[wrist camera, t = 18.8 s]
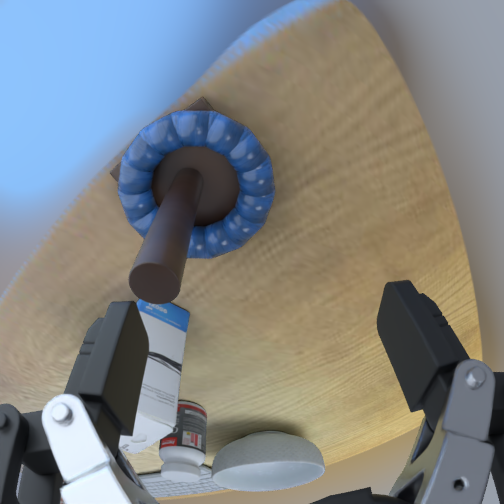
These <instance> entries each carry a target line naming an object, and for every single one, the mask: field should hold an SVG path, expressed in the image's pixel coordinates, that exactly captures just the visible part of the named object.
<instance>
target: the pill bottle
mask: <svg viewBox="0 0 504 504" xmlns="http://www.w3.org/2000/svg"><path fill="white" fill-rule="evenodd" d="M206 425H207V413H206V411H205V410H204V408H202V407H201V406H199V405H197V404H195V403H191V402H186V401H178V407H177V417H176V425H175V426H174V427H173V432H171V433H170V434H168V435H167V436H165V437H164V438H162V439H160V446H159V456H160V458H161V459H162V460H163V461H164V464H163V465H162V466H161V476H162V477H164V478H166V479H168V480H172V481H177V482H195V481H198V480H200V475H201V471H200V469H199V466H200V465H201V464H203V462H204V461H205V455H206Z"/></svg>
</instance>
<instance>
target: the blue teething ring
mask: <svg viewBox="0 0 504 504" xmlns="http://www.w3.org/2000/svg"><path fill="white" fill-rule="evenodd" d="M182 147H207V148H209V149H211V150H213V151H215V152H217V153H219V154H221V155H223V156H225V158H226V159H227V160H228V161H229V163H230V164H231V165H232V167H233V168H234V169H235V170H236V172H237V177H238V182H239V187H240V192H239V195H238V198H237V202H236V205H235V207H234V208H233V209H232V210H231V211H230V212H229V213H228V215H227V216H226V217H225V218H224V219H223V220H220V221H218V222H215V223H213V224H210V225H208V226H193V231H192V235H191V240H190V244H189V249H188V254H187V258H203V259H210V258H215V257H217V256H220V255H222V254H225V253H228V252H230V251H233V250H236V249H238V248H240V247H242V246H243V245H244V244H245V243H246V242H247V241H248V240H249V239H250V238H251V237H252V236H253V235H254V234H255V233H256V232H257V231H258V230H259V229H260V228H261V227H262V226H263V225H264V224H265V222H266V219H267V216H268V213H269V211H270V208H271V205H272V202H273V199H274V196H275V184H274V177H273V170H272V164H271V159H270V156H269V155H268V153H267V152H266V150H265V149H264V148H263V146H262V145H261V144H260V142H259V141H258V140H257V138H256V137H255V135H254V134H253V133H252V131H251V130H250V129H249V128H248V127H246V126H244V125H242V124H240V123H238V122H237V121H235V120H233V119H231V118H229V117H227V116H225V115H222V114H220V113H218V112H216V111H176V112H173V113H171V114H169V115H167V116H165V117H163V118H161V119H159V120H157V121H155V122H153V123H151V124H149V125H147V126H146V127H144V128H143V129H142V130H141V131H140V132H139V134H138V135H137V137H136V138H135V139H134V141H133V142H132V144H131V145H130V146H129V148H128V149H127V151H126V152H125V154H124V155H123V157H122V161H121V167H120V175H119V182H118V194H119V197H120V200H121V203H122V206H123V209H124V212H125V215H126V217H127V220H128V222H129V223H130V225H131V226H132V227H133V228H134V229H135V230H136V231H137V232H138V233H139V234H140V235H141V236H142V237H143V238H144V239H145V237H146V235H147V233H148V231H149V228H150V226H151V224H152V222H153V220H154V218H155V216H156V213H157V211H158V209H159V207H158V206H157V204H156V202H155V198H154V195H153V192H152V188H151V185H152V180H153V174H154V170H155V168H156V167H157V166H158V164H159V163H160V162H161V160H162V159H163V158H164V157H165V155H167V154H169V153H171V152H173V151H175V150H177V149H179V148H182Z"/></svg>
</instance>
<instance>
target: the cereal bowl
mask: <svg viewBox="0 0 504 504" xmlns="http://www.w3.org/2000/svg"><path fill="white" fill-rule="evenodd" d="M324 472H325V464H324V460H323V456H322V454H321V452H320V450H319V449H318V448H317V447H316V445H314V444H313V443H312V442H310V441H309V440H307V439H304V438H302V437H298V436H294V435H289V434H286V433H284V432H279V431H262V432H256V433H252V434H249V435H247V436H245V437H244V438H241V439H238V440H235V441H233V442H231V443H229V444H227V445H226V446H224V447H223V448H221V450H219V452H218V453H217V454H216V456H215V458H214V460H213V464H212V472H211V474H212V475H211V477H212V480H213V482H214V483H216V484H217V485H219V486H222V487H225V488H228V489H233V490H240V491H271V490H280V489H286V488H291V487H295V486H299V485H302V484H305V483H308V482H311V481H313V480H315V479H317V478H319V477H320V476H322V475H323V474H324Z"/></svg>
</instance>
